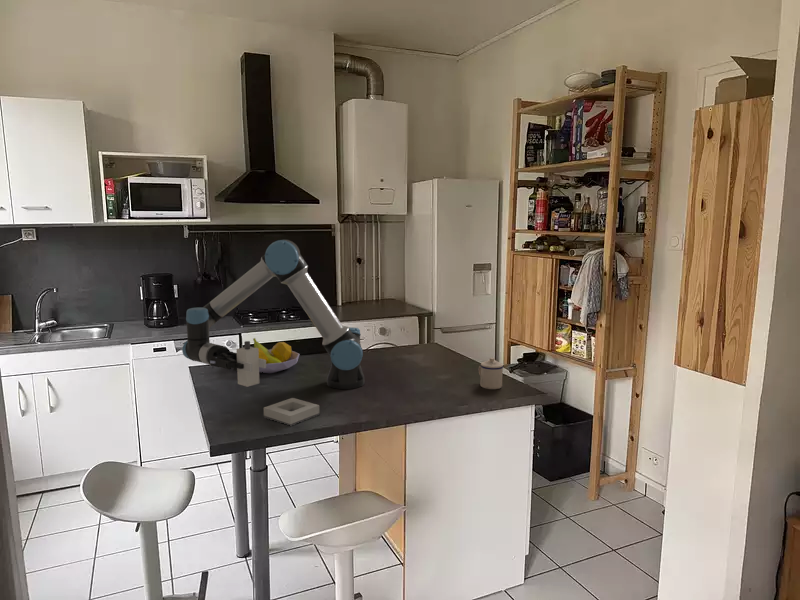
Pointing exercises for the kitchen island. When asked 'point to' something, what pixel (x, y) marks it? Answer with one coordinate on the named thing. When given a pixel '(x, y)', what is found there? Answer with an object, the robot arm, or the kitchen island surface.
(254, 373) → the plug
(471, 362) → the kitchen island surface
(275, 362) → the fruit bowl
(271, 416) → the socket
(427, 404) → the kitchen island surface
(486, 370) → the teacup with lid
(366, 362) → the kitchen island surface
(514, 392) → the kitchen island surface
